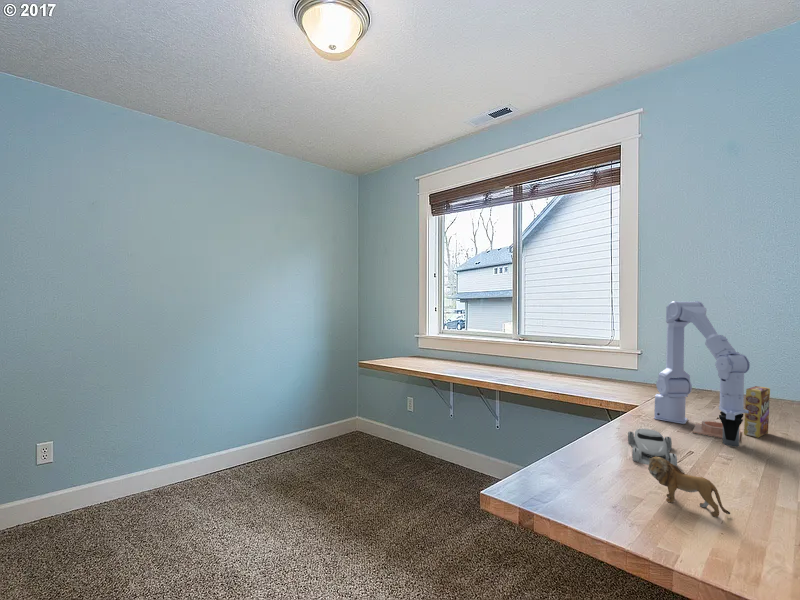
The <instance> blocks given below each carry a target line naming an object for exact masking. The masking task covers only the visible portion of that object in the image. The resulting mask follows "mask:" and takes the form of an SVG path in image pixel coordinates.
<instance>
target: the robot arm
mask: <svg viewBox="0 0 800 600" xmlns="http://www.w3.org/2000/svg"><path fill="white" fill-rule="evenodd" d="M665 322H666V350H665V351H666V353H665V355H666V357H665V358H666V359H665V368H664V369H663V370H662V371H660V372H659V373H658V376H657V381H656V384H655V385H656V389H657V391H658V392H659V393H655V395H654V415H653V416H654V417H653V419H655V420H659V421H663V422H664V421H666V422H670V423H676V424H681V425H685V424H687V421H688V418H687V417H686V403H687V402H686V399H687V398H688V396H689V395H690V394H691V392H692V389H693V385H692V383H691V375H690V374H689V373H688V372H686V371H685V369H684V368H685V364H684V363H685V327H686V326H687V325H689V324H690V323H691V324H692V325H694V326H695V328H696V329H697V330H698V331H699V333H700V334H701V335H702V336H703V338H705V342H704V344H705V346H706V348H707V349H708V350H709V352H710V353H711V354H712V356H713V357H714V359H715V360H716V361H715V362H714V366H715V368H716V370H717V373H718V374H717V376H718V378H719V406H718V410H719V411H720V412H719V413H720V414H718V419H719V420H720V423H722V424H723V427H724V432H725V437H726V439H727V440H732V441H735V439H736V436H737V431H738V428H739V429H740V426H741V424H742V423H743V422H744V419H743V418H744V414H745V413H748V410H745V407H744V406H745V405H744V402H745V401H744V400H745V399H744V398H745V393H744V392H745V373H748V372H749V370H750V367H751V365H750V360H749V359H748V357H747V356H746V355H745V354H741V353H740V352H738V351H736V349H735V348H734V347H733V345H732V344H731V343H730V342H729V340H728V338H727V337H726V335H725V336H724V335H723V334H718V332H717V330H716V329H715V328H714V326H713V324H712V323H711V320H710V318H708V316H707V308H706V307H705V305H704V303H702V302H701V301H700V300H695V301H690V300H689V301H685V300H684V301H682V300H681V301H678V300H672V301H670V302H669V303H668V305H666V306H665Z"/></svg>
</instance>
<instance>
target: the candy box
mask: <svg viewBox="0 0 800 600" xmlns="http://www.w3.org/2000/svg"><path fill="white" fill-rule="evenodd" d="M770 401H771V388H770V387H765V386H757V385H754V386H752V387H749V388H746V389H745V405H744V406H745V407H744V409H745V410H748V413H744V421H743V422H744V425H743V435H746V436H748V437H749V436H750V437H753V438H757V439H758V438H760V437H762V436H764V435H768V433H769V420H770Z"/></svg>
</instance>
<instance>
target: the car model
mask: <svg viewBox="0 0 800 600" xmlns="http://www.w3.org/2000/svg"><path fill="white" fill-rule="evenodd" d="M627 441H628V442H627V443H628V445H630V446H631V447H632V450H631V451H632V453H631V456H632V461H633V462H636V463H640V464H642V465H647V466H649V462H650V461H649V458H652V457H661V458H663V459H666V460H667V461H669V462H670V463H671V464H673V465H675V466H677V467H678V457H677V454H676V453H671V450H672V449H673V448H672V446H673V445H672V442H673V441H672V437H671V436H663V434H662V433H661V432H659V431H657V430H654V429H650V428H638V429H636V430H635V431H628V432H627Z"/></svg>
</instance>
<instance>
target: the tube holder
mask: <svg viewBox="0 0 800 600" xmlns="http://www.w3.org/2000/svg"><path fill="white" fill-rule="evenodd" d="M695 433H698V434H697V435H701V434H703V435H702V436H706V435H708V436H707V437H712V436H714V437H713V438H717V437H718V439H723V424H722V422H721V421H711V420H704V421H702V422H701V423H699V422H695V425H694V427H693V430H692V434H695ZM740 441H741V430H740V429H739V443H740Z"/></svg>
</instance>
